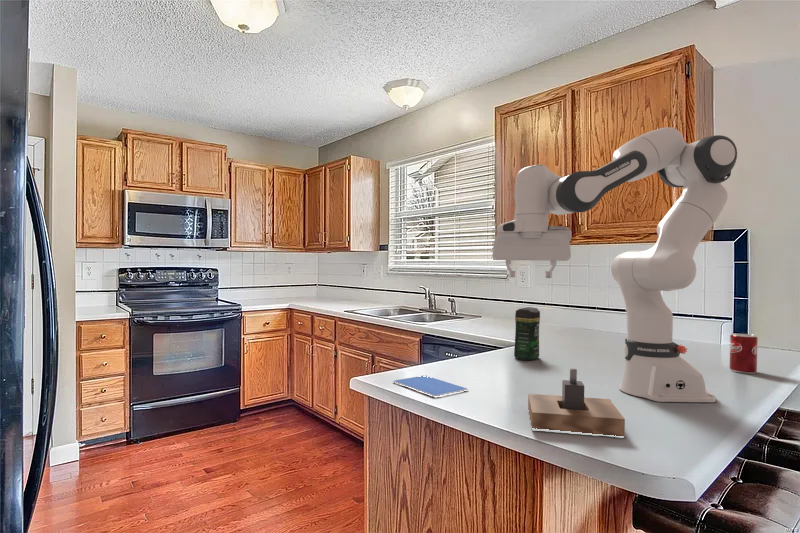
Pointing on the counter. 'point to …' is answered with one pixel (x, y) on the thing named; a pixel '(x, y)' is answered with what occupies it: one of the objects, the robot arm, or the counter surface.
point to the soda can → (743, 353)
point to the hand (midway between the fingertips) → (530, 277)
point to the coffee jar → (527, 333)
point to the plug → (573, 392)
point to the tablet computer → (430, 385)
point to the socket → (575, 415)
